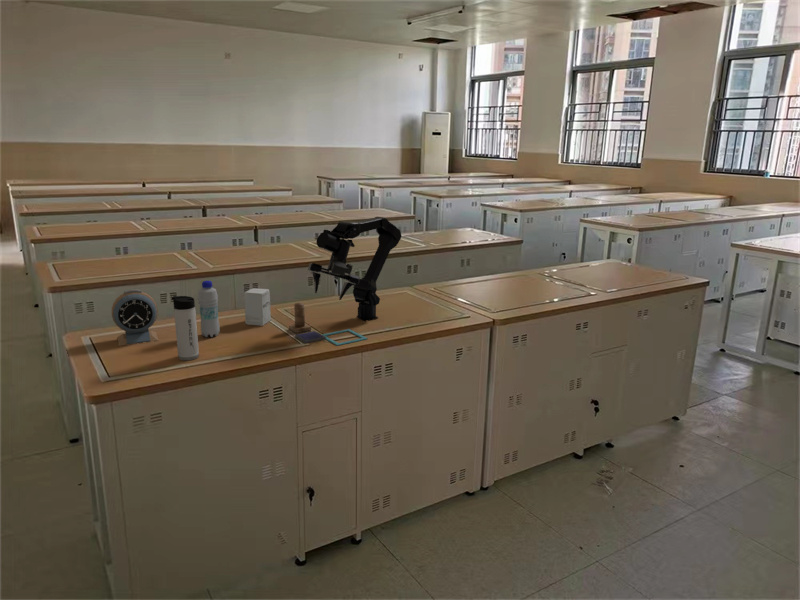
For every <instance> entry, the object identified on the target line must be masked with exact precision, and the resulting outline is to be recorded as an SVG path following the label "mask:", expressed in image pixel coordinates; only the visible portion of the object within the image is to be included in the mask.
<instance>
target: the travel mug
mask: <svg viewBox="0 0 800 600" xmlns="http://www.w3.org/2000/svg"><path fill="white" fill-rule="evenodd" d="M171 300H172V302H173V312H174V315H173V316H174V324H175V338H176V347H177V358H178V359H179V360H180V361H183V362H184V361H185V362H186V361H187V362H188V361H193V360H196V359H198V358H199V356H200V352H199V351H200V349H199V340H198V338H199V337H198V328H197V315H196V313H197V312H196V303H195V298H194V297H192V296H187V295H178V296H177V295H173V296H172V297H171Z"/></svg>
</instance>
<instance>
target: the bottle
mask: <svg viewBox="0 0 800 600" xmlns="http://www.w3.org/2000/svg"><path fill="white" fill-rule="evenodd" d="M197 293H198V294H197V295H198V296H197V300H198V304H199V313H200V332H201V335H202V337H205V338H209V336H210V338H213V337H217V336H218V335H219V334H220V331H221V330H220V329H221V327H220V321H219V309H218V303H219V296H218V292H217V288H214V287H213V282H212V281H211V280H204V281H202V283H201V288H200V289H199V290H198V292H197Z"/></svg>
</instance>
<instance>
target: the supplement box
mask: <svg viewBox="0 0 800 600" xmlns="http://www.w3.org/2000/svg"><path fill="white" fill-rule="evenodd" d="M270 293H271V292H270V289H268V288H255V287H254V288H250V289H249V290H247V291H245V292H244V293H243V297H244V315H245V316H244V318H245V325H249V326H261V327H264V325H266V324H267V323H269V322H270V321H271V319H272V318H271V294H270Z"/></svg>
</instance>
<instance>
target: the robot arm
mask: <svg viewBox="0 0 800 600" xmlns="http://www.w3.org/2000/svg"><path fill="white" fill-rule="evenodd" d="M373 230H375V231H376V233H377V234H378V238H377V241H378V247H377V249H376V251H375V253H374V255H373V257H372V259H371V262H370V264H369V266H368V268H367V271H366V272H365V275H364V276H363V277H362V278H360V276H359V275H354V274H352V269H353V265H352V264H350V263H347V258H348V255H349V251H350V248H351V247H352V248H355V246H356V245H355V243H354V242H353V239H355V238H357V237H359V236H360V235H361V234H362V233H364V232H370V231H373ZM401 239H402V231H401V230H400V229H399V227H397V226H396V225H394V223H392V222H391V221H389V220H388V218H386V217H383V216H375V217H372V218H368V219H363V220H358V221H339V222H338V223H337V225H336V226H335V227H333V229H332V230H328V229H323V231H322V233H320V234H319V235H318V237H316V245H317V247H318V248H320V249H322V250H324V251H327V252H330V253H331V255H330V259H329V263H328V265H327V268H324V267H323V265H321V264H318V263H314V262H311V263H309V265H308V267H307V271H309V272H310V274H312V276H313V277H312V278H313V284H314V286H313V287H314V293H315V294H317V293H318V289H319V283H320V279H321V275H322V274H326V275H328V276H333V277H335V278H339V279H341V280H346V281H344V283H343V286H342V288H341V291H340V295H339V299H338V300H339V301H342V299H343V297H344V296H345V294H346V293H347V292H348V290H349V289H350V288H351V287H352V286H353V287H352V288H353V289H352V294H353V297H354V300H355V302H356V303H358V306H357V315H356V318H358V319H360V320H362V321H364V322H367V321H373V320H376V319H379V317H378V316H377V306H378V305H379V304H380V301H381V298H380V296H379V295H378V294H377V289H378V288H377V281H378V278H379V277H380V274H381V272H382V270H383V267H384V265H385V264H386V261H387V258H388V257H389V254H390V252H391V250H393V249H394V248H396V247H397V245H398V244H399V242H400V241H401ZM321 273H322V274H321Z"/></svg>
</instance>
